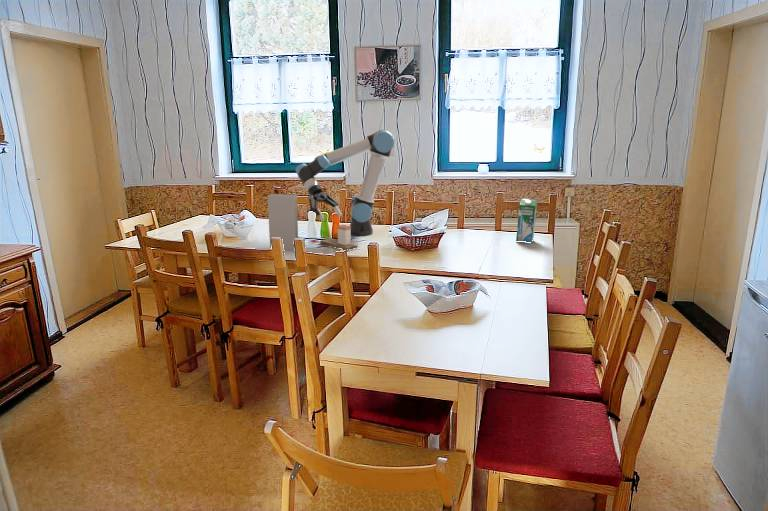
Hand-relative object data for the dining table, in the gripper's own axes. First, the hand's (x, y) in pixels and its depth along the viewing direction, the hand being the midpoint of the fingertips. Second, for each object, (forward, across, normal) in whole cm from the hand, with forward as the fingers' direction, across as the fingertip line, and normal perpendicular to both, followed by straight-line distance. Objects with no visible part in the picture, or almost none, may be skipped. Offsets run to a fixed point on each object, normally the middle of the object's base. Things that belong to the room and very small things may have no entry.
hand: (332, 217), depth 285 cm
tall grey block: (+4, +26, -19) cm, 32 cm away
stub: (+16, 0, -3) cm, 16 cm away
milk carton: (+65, -86, +43) cm, 116 cm away
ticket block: (+15, 0, -7) cm, 16 cm away
